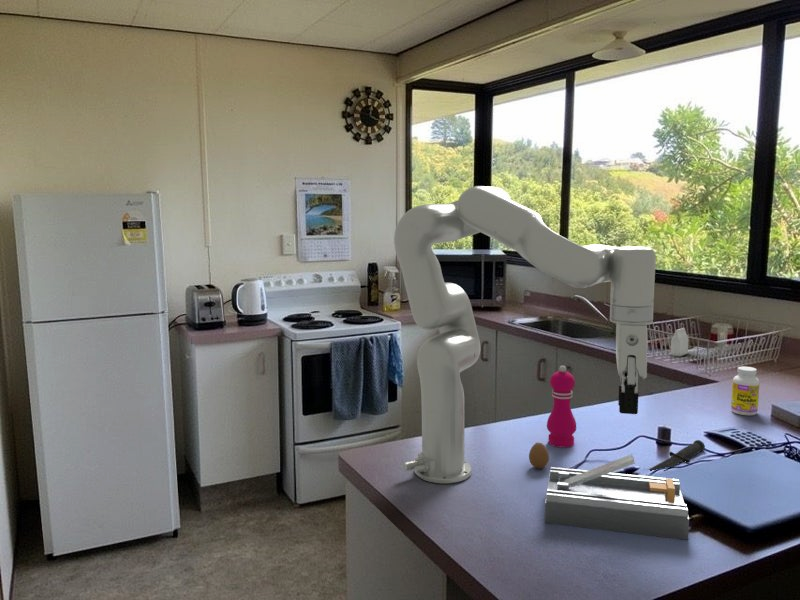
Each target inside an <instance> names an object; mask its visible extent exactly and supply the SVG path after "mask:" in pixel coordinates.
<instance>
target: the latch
mask: <svg viewBox="0 0 800 600" xmlns="http://www.w3.org/2000/svg"><path fill="white" fill-rule="evenodd" d="M665 478H666V477H665ZM672 479H673V478H670V479H668V477H667V478H666V480H665V484H662V483H652V482H649V488H650V491H659V492H665V496H666V499H667V502H672V503H675V486H674V483H673V480H672Z"/></svg>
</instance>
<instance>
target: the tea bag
mask: <svg viewBox="0 0 800 600" xmlns="http://www.w3.org/2000/svg"><path fill="white" fill-rule="evenodd" d="M669 353H670V355H671V356H675V357H682V356H685V355H688V353H689V336H688V334H687V331H686V327H682V328H679V329H675V331H674V334H673V336H672V338H671V339H670V352H669Z"/></svg>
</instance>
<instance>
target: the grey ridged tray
mask: <svg viewBox="0 0 800 600" xmlns="http://www.w3.org/2000/svg"><path fill="white" fill-rule="evenodd" d="M586 471H588V469H587V470H585V469H577V468H576V469H575V468H566V467H565V468H564V467H553V466H550V470H549V474H548V482H547V488H546V489H547V490H546V495H545V496H546V497H545V501H544V504H545V505H544V523H545V524H546V523H547V524H551V525H560V526H568V527H576V528H577V527H579V528H587V529H595V530H601V531H611V532H616V533H617V532H619V533H626V534H627V533H628V534H635V535H644V536H649V537H659V538H668V539H675V540H677V539H678V540H685V541H688V540H689V530H690V517H689V509H688V506H687V503H685V501H684V498H683V495H682V491H681V483H680V479H678V478H668V477H667V478H668V479H672V480H673V483H674V486H675V503H672V502H667V499H666V496H665V492H659V491H650V488H649V482H652V483H662V484H665V480H666V477H658V476H650V475H647V476H646V475H638V474H637V475H636V474H628V473H627V474H626V473H617V472H611V473H608V474H605V475H603V476H600V477H597V478H595V479H592V480H589V481H587V482H584V483H582V484H579V485H576V486H574V487H571V488H568V483H562V482H561V480H562V479H564V480H565V479H568V478H571V477H573V476H576V475H578V474H581V473H584V472H586Z"/></svg>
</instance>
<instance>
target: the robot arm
mask: <svg viewBox="0 0 800 600" xmlns="http://www.w3.org/2000/svg"><path fill="white" fill-rule="evenodd" d="M479 233H481V234H483V235H485V236H488V237H489V238H491V239H493V240H495V241H497V242H499V243H500V244H502V245H505V246H506V247H508V248H510V249H512V250H514V251H515V252H517V254H518V255H520V257H521V258H523V259H524V260H526V261H527V262H528V263H529V264H531V265H532V266H533V267H535V268H536V269H538V270H540V271H541V272H543V273H544V274H546V275H548V276H550V277H552V278H554V279H556V280H558V281H560V282H561V283H563V284H566V285H568V286H570V287H572V288H577V289H585V288H589V287H594V285H598V284H602V283H609V282H610V294H609V295H610V297H609V298H610V302H609V305H610V306H609V322H611V323H613V324H615V326H616V327H615V359H616V367H617V372H618V373H617V374H618V376H619V377H620V379H619V384H620V385H618V403H617V405H618V406H619V408H618V410H619V411H618V413H620V414H626V415H627V414H628V415H638V413H639V410H638V409H639V392H638V388H639V387H638V385H639V377H641V378H642V379H643V380H644V379H646V378H647V377H648V373H647V372H648V368H647V367H648V325H651V324H654V304H655V303H654V302H655V283H656V282H655V280H656V277H655V276H656V257H657V256H656V253H655V250H654V249H653V248H651V247H647V246H639V245H638V246H637V245H635V246H633V245H631V246H629V245H628V246H612V245H606V244H598V243H594V244H593V243H592V244H585V245H580V244H578V243H576V242H574V241H572V240H570V239H568V238H566V237H564V236H562V235H560V234H559V233H557V232H555V231H554V230H552V229H550V228H549V227H548V226H547V225H546V224H545V223H544V220H543V219H542V216H541V214H539V213H538V212H536V211H534V210H532V209H531V208H528V207H526V206H525V205H522V204H520V203H518V202H516V201H514V200H512V198H511V196H510V195H509V194H508V192H506V191H505V190H504V189H502V188H501V187H497V186H489V185H487V186H485V185H475V186H471V187H469V188H468V189H466V190H465V191H463V192H462V193H461V194H460V196H459V198H458V199H457V200H455V201H452V202H449V203H425V204H420V205H417V206H413V207H412V208H411V209H409V210H407V211H406V212H405V213H404V214H403V215H402V216H401V218H400V219H399V221H398V222H397V225H396V227H395V231H394V237H393V243H394V249H395V253H396V257H397V260H398V262H399V267H400V269H401V272H402V276H403V282H404V286H405V291H406V295H407V299H408V303H409V307H410V311H411V314H412V318H413V320H414V322H415V324H416V325H417V327H419V328H421V329H422V330H426V331H432V330H436V329H438V331H439V334H436V335H434V336H432V337H430V338H428V339H426V340H425V341H424V342H423V343H422V344H421V346H420V347H419V349H418V352H417V354H416V365H417V371H418V376H419V382H420V395H421V396H420V397H421V398H420V400H421V405H420V406H421V448H422V450H421V452H418V453H417V457H416V458H415V459H414V460H409V461H405V462H403V463H402V469H403V471H404V472H409V471H412V470H413V472H414V474H416V476H417V477H418V478H420V479H422V480H424V481H426V482H429V483H434V484H455V483H460V482H462V481H465V480H467V479H468V478H469V477H471V475H472V466H471V464H470V463H469V462H468V461H466V460H465V459H466V458H465V457H466V456H465V393H464V392H465V391H464V386H463V384H462V380H461V375H460V374H461V372H464V371H465V370H468V369H469V368H470V367H472V366H474V364H475V363H476V362H477V361H478V360H479V358H480V354H481V342H480V341H481V340H480V336H479V332H478V327H477V324H476V319H475V316H474V312H473V311H474V310H473V307H472V303H471V300H470V298H469V296H468V294H467V292H466V291H465V290H464V289H463V288H462V287H461V286H460V285H458V284H457V283H453V282H445V279H444V276H443V273H442V267H441V264H440V262H439V260H438V258H437V255H436V254H435V252H434V251H433V249H432V246H433V245H434V244H441V243H443V244H444V243H451V242H455V241H458V240H461V239H465V238H467V237H470V236H474V235H477V234H479Z"/></svg>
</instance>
